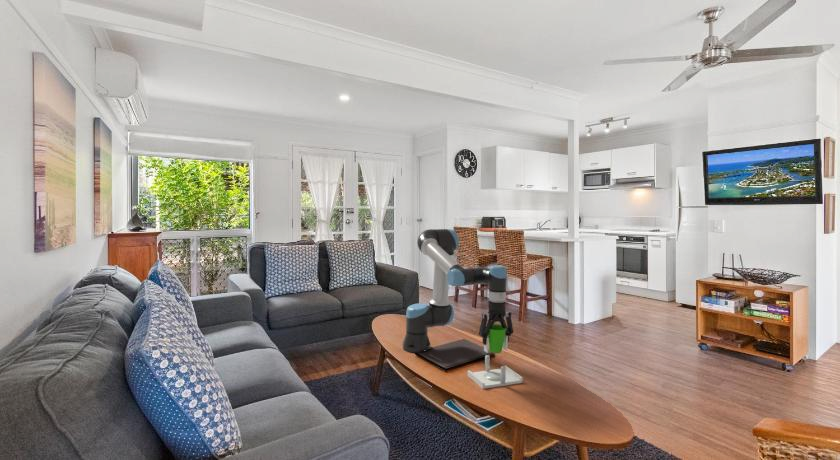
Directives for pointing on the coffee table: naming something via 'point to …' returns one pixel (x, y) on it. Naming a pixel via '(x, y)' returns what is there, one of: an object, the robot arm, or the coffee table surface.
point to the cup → (496, 338)
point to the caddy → (495, 376)
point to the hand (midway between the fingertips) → (495, 350)
